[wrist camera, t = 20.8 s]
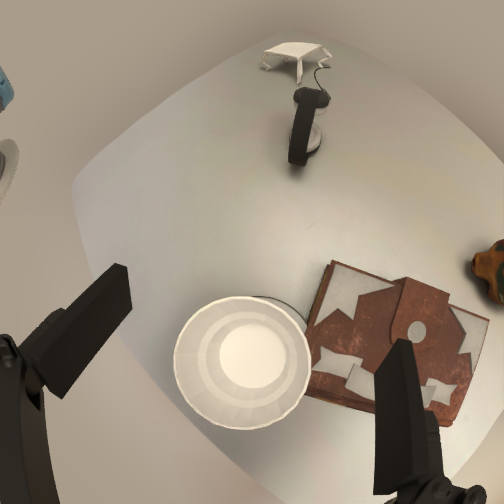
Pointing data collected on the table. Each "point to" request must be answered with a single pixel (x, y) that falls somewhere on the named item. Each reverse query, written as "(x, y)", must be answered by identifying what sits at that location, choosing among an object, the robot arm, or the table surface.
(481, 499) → the robot arm
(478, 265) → the ocarina
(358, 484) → the table surface
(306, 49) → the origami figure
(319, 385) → the book
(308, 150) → the headphones
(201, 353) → the cup
